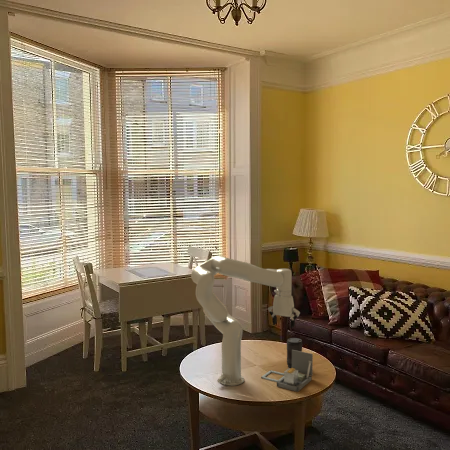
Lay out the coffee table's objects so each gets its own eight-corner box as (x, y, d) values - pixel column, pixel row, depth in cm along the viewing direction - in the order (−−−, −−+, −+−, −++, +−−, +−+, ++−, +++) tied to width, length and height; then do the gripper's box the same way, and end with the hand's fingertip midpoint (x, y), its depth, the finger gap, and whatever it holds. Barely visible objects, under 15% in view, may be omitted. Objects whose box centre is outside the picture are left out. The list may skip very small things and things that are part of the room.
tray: (279, 383, 236) (279, 381, 236) (261, 379, 242) (261, 376, 242) (288, 376, 244) (288, 374, 244) (270, 372, 250) (270, 370, 250)
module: (293, 389, 229) (293, 372, 228) (283, 386, 232) (284, 370, 231) (297, 385, 233) (298, 369, 232) (288, 382, 236) (288, 366, 235)
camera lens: (302, 365, 259) (303, 338, 258) (301, 371, 251) (301, 343, 250) (287, 363, 261) (287, 336, 260) (285, 369, 253) (285, 341, 252)
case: (297, 393, 226) (298, 365, 225) (276, 387, 232) (276, 360, 231) (312, 380, 240) (312, 353, 239) (292, 375, 246) (292, 349, 245)
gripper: (265, 292, 248) (265, 325, 249) (297, 296, 239) (296, 330, 241) (271, 289, 254) (271, 321, 256) (302, 293, 246) (302, 326, 247)
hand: (283, 325), depth 248 cm, fingers open, 9 cm apart
